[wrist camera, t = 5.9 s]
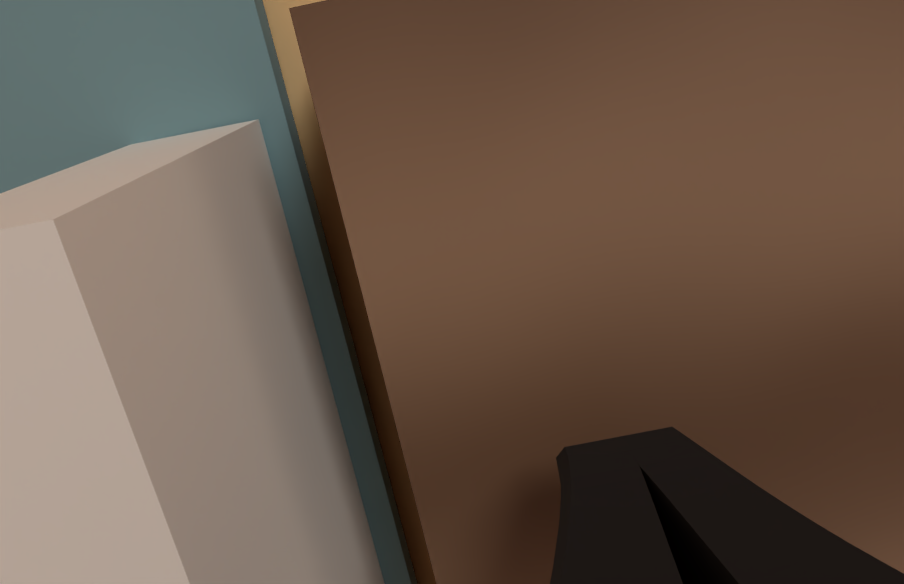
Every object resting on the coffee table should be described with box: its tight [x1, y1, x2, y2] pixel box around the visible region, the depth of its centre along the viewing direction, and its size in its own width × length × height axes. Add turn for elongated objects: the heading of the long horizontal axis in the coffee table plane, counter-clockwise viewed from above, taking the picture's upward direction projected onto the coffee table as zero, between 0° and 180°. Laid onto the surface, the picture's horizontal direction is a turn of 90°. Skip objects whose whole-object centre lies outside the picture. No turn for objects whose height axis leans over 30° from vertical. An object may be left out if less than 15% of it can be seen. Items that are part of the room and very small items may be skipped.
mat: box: [0, 0, 417, 584], centre depth 13 cm, size 16×10×1 cm, turn 11°
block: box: [0, 119, 385, 584], centre depth 10 cm, size 9×6×2 cm
